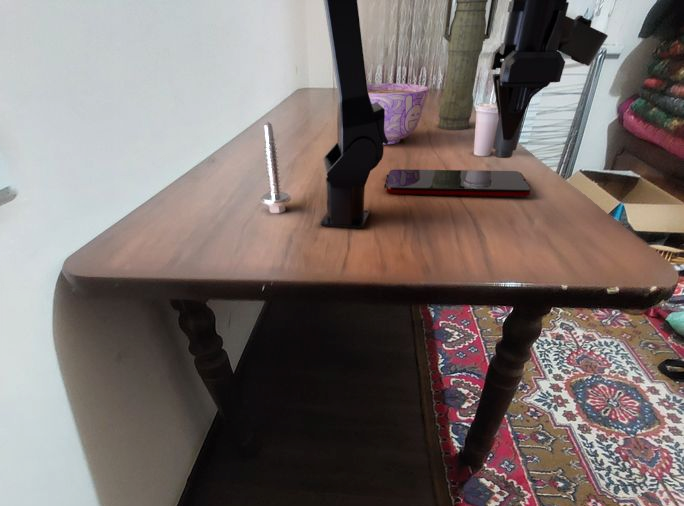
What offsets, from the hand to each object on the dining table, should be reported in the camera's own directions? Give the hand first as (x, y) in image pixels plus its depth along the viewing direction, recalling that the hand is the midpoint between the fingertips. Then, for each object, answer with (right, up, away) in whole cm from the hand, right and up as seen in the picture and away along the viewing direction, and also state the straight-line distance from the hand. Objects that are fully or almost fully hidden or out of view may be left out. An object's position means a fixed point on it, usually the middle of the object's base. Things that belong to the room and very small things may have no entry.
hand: (506, 137), depth 57 cm
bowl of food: (-11, +24, +48) cm, 55 cm away
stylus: (0, -2, +2) cm, 3 cm away
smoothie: (+10, +15, +35) cm, 40 cm away
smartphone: (-2, 0, +18) cm, 18 cm away
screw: (-34, -7, +10) cm, 36 cm away
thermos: (+10, +35, +60) cm, 70 cm away
